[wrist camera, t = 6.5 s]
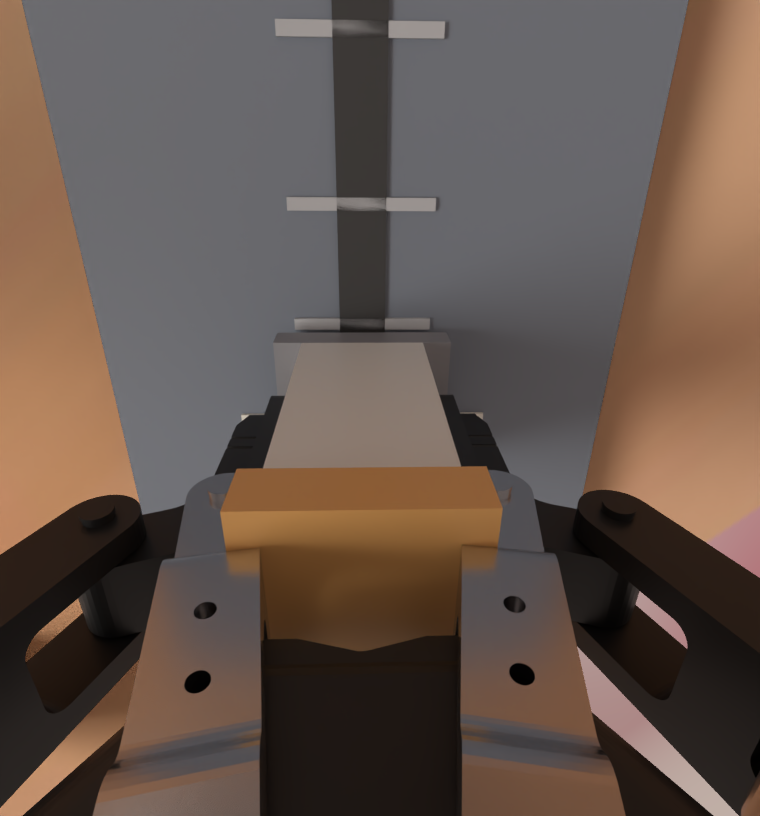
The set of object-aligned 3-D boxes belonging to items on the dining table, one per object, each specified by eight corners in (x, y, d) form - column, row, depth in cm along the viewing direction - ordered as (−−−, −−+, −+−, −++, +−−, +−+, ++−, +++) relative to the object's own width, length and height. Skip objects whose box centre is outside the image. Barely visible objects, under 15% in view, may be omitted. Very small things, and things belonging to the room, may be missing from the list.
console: (-29, -395, 10) (-97, -489, 8) (727, -365, 10) (788, -451, 9) (162, 505, 18) (145, 535, 17) (560, 500, 19) (576, 529, 17)
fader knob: (276, 325, 14) (187, 512, 7) (446, 325, 14) (533, 508, 7) (288, 469, 16) (229, 731, 9) (437, 467, 16) (497, 724, 9)
